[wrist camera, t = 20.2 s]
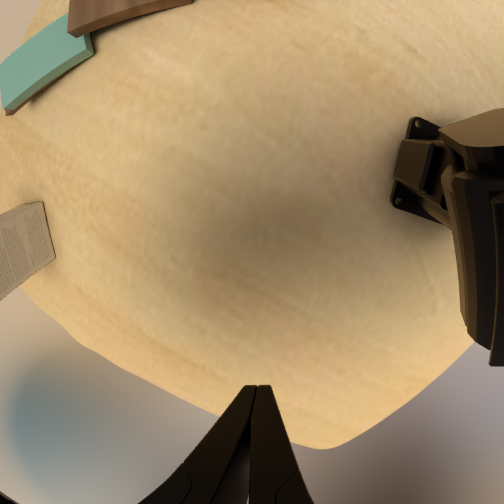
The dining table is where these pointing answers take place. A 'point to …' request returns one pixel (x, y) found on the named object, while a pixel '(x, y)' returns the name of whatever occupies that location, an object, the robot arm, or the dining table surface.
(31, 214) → the skincare box
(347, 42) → the dining table surface
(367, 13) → the dining table surface
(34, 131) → the dining table surface
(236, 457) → the robot arm
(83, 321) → the dining table surface
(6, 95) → the domino
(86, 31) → the domino
